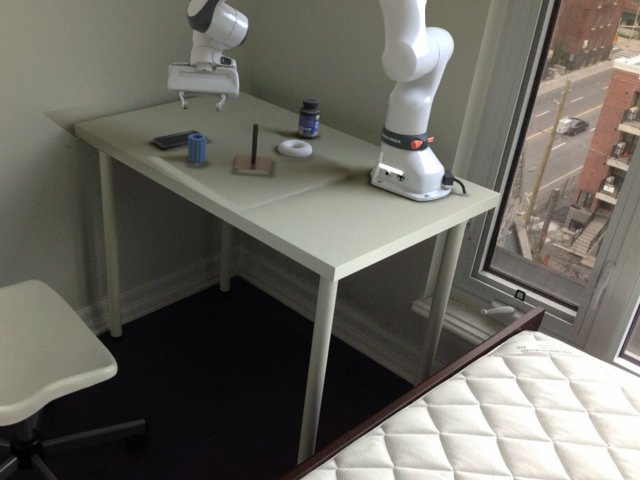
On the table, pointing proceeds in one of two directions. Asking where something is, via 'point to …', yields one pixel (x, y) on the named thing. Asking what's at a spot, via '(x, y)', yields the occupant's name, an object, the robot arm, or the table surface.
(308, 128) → the pill bottle
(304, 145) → the donut
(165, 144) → the phone
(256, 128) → the dowel stand
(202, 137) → the tube
